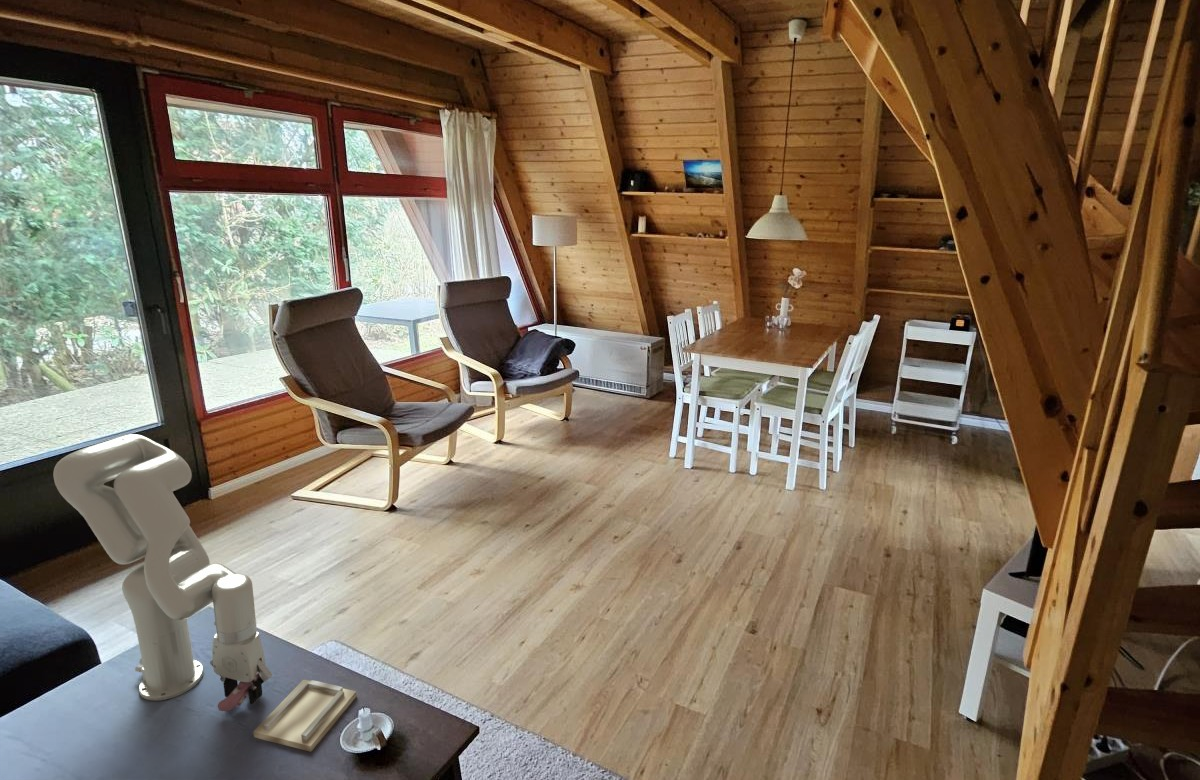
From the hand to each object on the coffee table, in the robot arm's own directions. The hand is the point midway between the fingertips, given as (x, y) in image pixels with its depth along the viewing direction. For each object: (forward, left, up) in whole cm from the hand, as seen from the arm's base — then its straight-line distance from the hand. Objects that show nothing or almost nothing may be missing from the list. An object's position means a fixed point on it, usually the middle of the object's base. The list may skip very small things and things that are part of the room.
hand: (243, 695), depth 142 cm
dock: (+16, 0, -2) cm, 16 cm away
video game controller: (0, 0, -1) cm, 1 cm away
